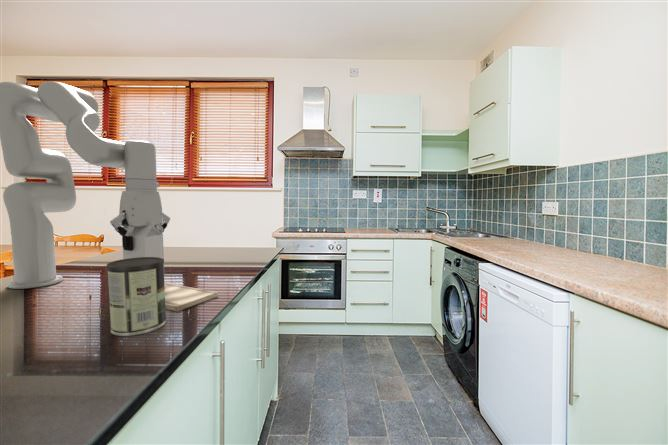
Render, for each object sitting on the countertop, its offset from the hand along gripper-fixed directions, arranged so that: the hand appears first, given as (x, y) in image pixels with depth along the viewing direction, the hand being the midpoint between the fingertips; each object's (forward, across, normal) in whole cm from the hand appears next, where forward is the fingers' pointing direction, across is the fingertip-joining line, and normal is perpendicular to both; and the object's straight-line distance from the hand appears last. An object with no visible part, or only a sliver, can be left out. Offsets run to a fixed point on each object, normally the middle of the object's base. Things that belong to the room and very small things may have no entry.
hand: (143, 247), depth 90 cm
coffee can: (+13, +16, +21) cm, 30 cm away
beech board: (+13, 0, +9) cm, 16 cm away
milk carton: (+12, 0, 0) cm, 12 cm away
